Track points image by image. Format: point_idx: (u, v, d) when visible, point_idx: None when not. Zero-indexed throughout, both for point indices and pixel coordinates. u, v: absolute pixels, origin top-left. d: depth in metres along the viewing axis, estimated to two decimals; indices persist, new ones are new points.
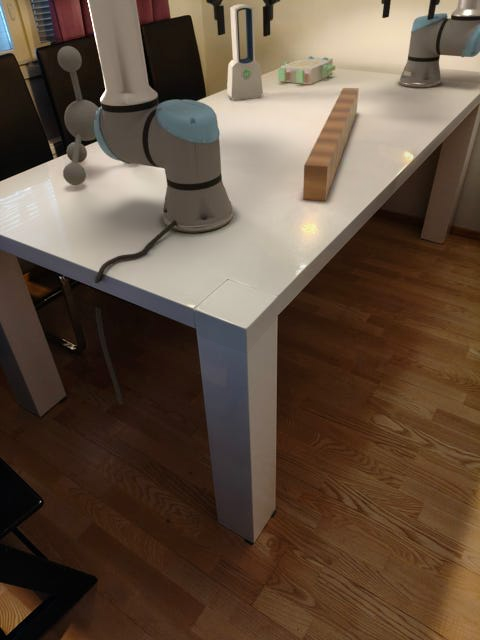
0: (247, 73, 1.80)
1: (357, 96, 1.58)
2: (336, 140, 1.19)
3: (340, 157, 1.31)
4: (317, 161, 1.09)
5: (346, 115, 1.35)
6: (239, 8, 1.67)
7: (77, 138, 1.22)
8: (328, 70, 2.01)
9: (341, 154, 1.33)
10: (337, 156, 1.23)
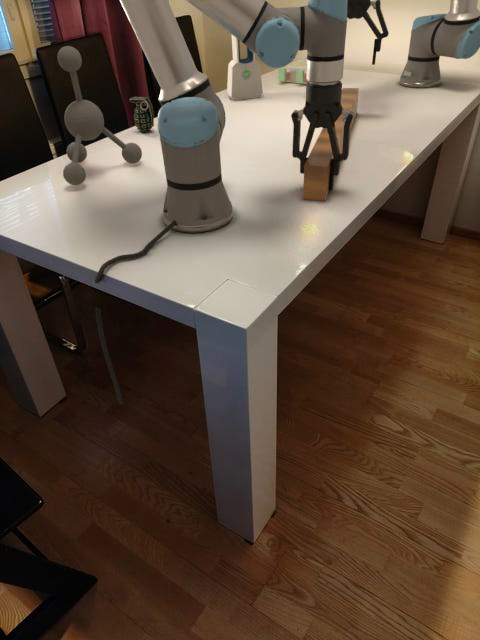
0: (247, 73, 1.80)
1: (357, 96, 1.58)
2: None
3: None
4: (317, 161, 1.09)
5: None
6: None
7: (77, 138, 1.22)
8: None
9: None
10: None
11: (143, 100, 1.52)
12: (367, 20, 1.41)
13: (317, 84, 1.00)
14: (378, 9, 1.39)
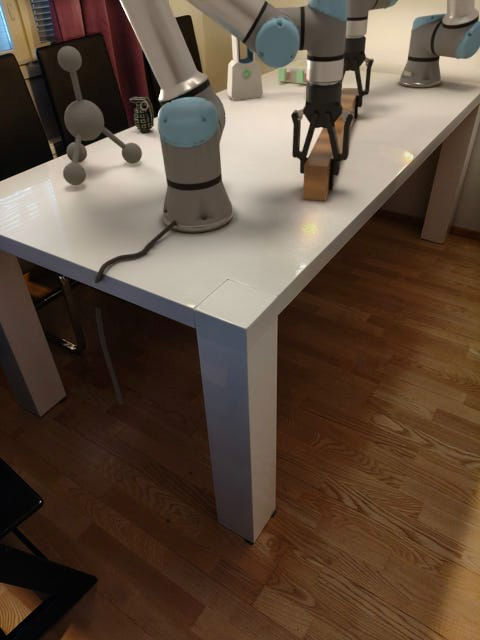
0: (247, 73, 1.80)
1: None
2: None
3: None
4: (317, 161, 1.09)
5: None
6: None
7: (77, 138, 1.22)
8: None
9: None
10: None
11: (143, 100, 1.52)
12: (356, 75, 1.50)
13: (317, 84, 1.00)
14: (369, 68, 1.48)
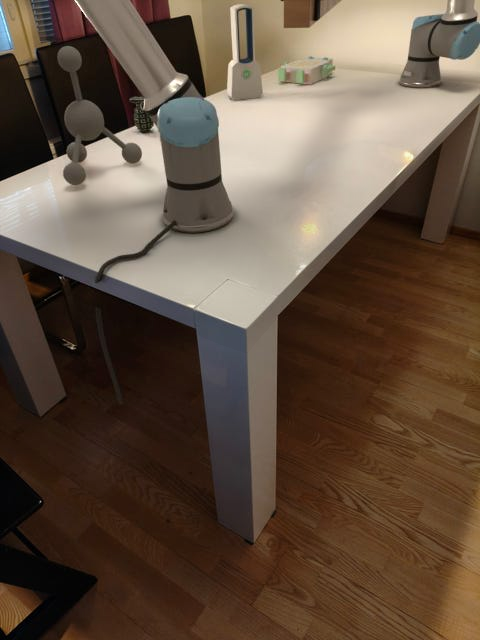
0: (247, 73, 1.80)
1: None
2: None
3: (329, 8, 1.15)
4: None
5: None
6: (239, 8, 1.67)
7: (77, 138, 1.22)
8: (328, 70, 2.01)
9: (330, 7, 1.16)
10: None
11: (143, 100, 1.52)
12: None
13: None
14: None
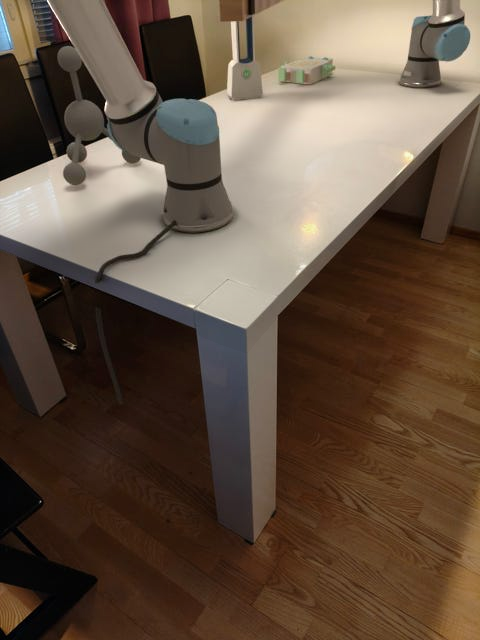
0: (247, 73, 1.80)
1: None
2: None
3: (271, 4, 1.26)
4: None
5: None
6: None
7: (77, 138, 1.22)
8: (328, 70, 2.01)
9: (273, 3, 1.28)
10: None
11: None
12: None
13: None
14: None
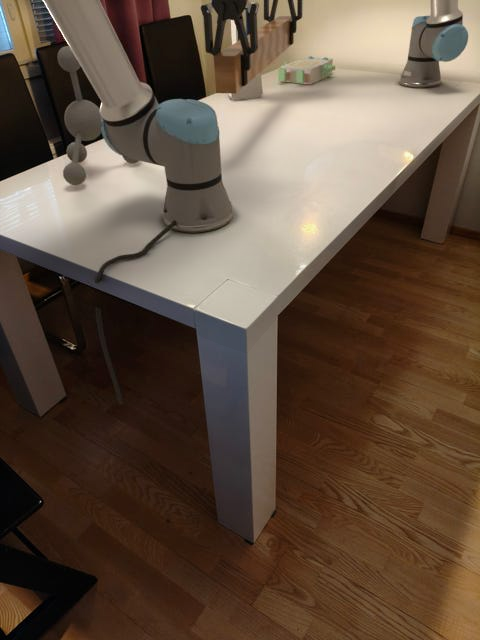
0: None
1: None
2: None
3: (263, 67, 1.37)
4: (226, 54, 1.15)
5: (271, 30, 1.41)
6: None
7: (77, 138, 1.22)
8: (328, 70, 2.01)
9: (265, 65, 1.39)
10: (256, 61, 1.29)
11: None
12: None
13: None
14: None
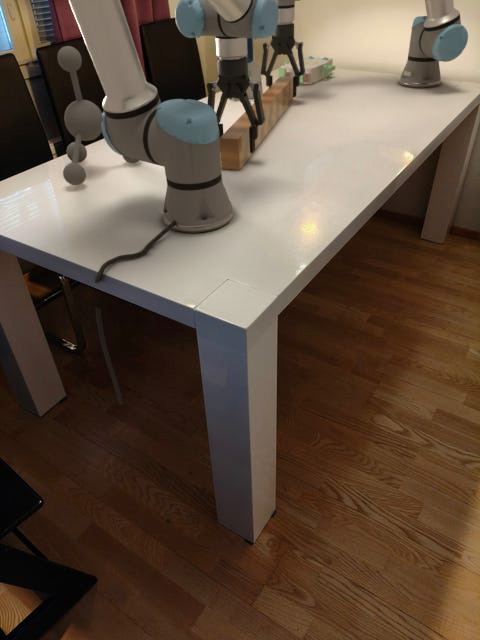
0: None
1: (292, 84, 1.76)
2: None
3: (265, 135, 1.49)
4: (231, 135, 1.26)
5: (272, 99, 1.53)
6: None
7: (77, 138, 1.22)
8: (328, 70, 2.01)
9: (266, 133, 1.50)
10: (258, 133, 1.41)
11: None
12: (290, 58, 1.66)
13: (224, 59, 1.16)
14: (299, 50, 1.64)
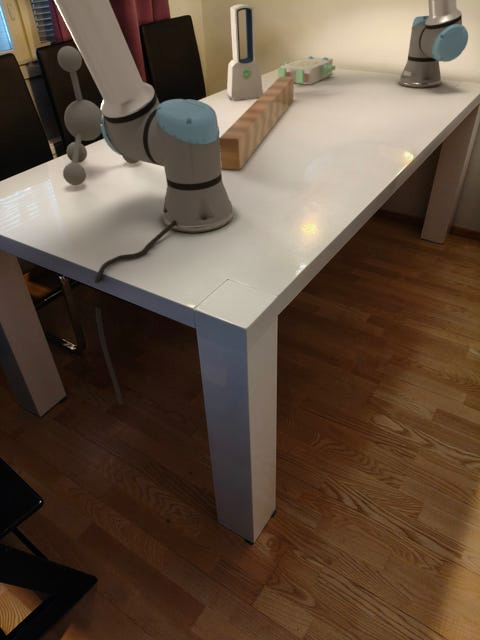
0: (247, 73, 1.80)
1: (292, 84, 1.76)
2: (254, 119, 1.37)
3: (265, 135, 1.49)
4: (231, 135, 1.26)
5: (272, 99, 1.53)
6: (239, 8, 1.67)
7: (77, 138, 1.22)
8: (328, 70, 2.01)
9: (266, 133, 1.50)
10: (258, 133, 1.41)
11: None
12: None
13: None
14: None
